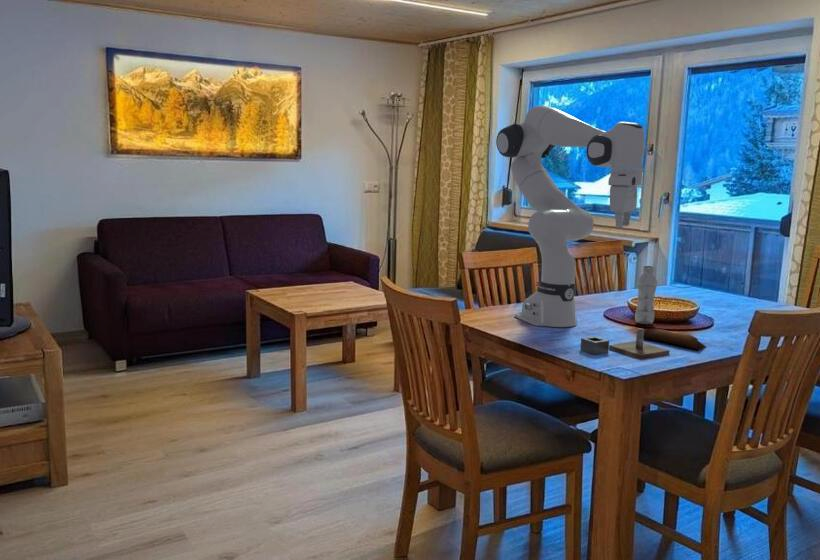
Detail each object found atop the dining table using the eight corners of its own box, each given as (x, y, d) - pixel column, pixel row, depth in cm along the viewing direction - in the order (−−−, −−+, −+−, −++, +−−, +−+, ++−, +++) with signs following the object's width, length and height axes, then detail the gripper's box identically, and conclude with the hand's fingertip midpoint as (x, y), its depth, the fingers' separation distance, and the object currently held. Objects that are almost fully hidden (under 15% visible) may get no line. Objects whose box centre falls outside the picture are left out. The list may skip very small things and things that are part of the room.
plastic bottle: (632, 324, 246) (637, 267, 243) (636, 321, 252) (640, 264, 249) (651, 327, 243) (656, 268, 240) (655, 323, 249) (660, 266, 246)
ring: (580, 350, 210) (581, 338, 210) (594, 348, 213) (595, 336, 213) (594, 354, 206) (595, 342, 205) (608, 352, 209) (609, 340, 208)
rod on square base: (608, 349, 213) (610, 326, 211) (636, 344, 219) (638, 322, 218) (640, 359, 202) (642, 335, 201) (669, 354, 209) (671, 331, 208)
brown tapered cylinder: (709, 346, 219) (706, 329, 215) (699, 361, 215) (696, 344, 212) (654, 335, 231) (651, 319, 228) (644, 349, 228) (640, 333, 224)
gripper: (622, 178, 218) (618, 224, 220) (607, 179, 200) (603, 228, 202) (643, 179, 215) (640, 225, 217) (630, 179, 197) (626, 230, 199)
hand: (622, 226), depth 209 cm, fingers open, 8 cm apart
